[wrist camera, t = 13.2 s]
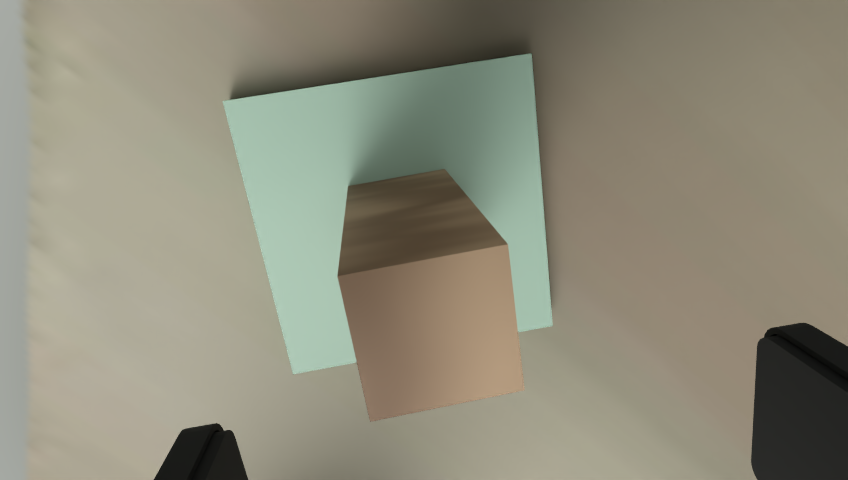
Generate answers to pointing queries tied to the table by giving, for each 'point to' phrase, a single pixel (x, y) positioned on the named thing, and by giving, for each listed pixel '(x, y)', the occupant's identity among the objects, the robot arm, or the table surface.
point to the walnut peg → (426, 296)
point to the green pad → (383, 159)
